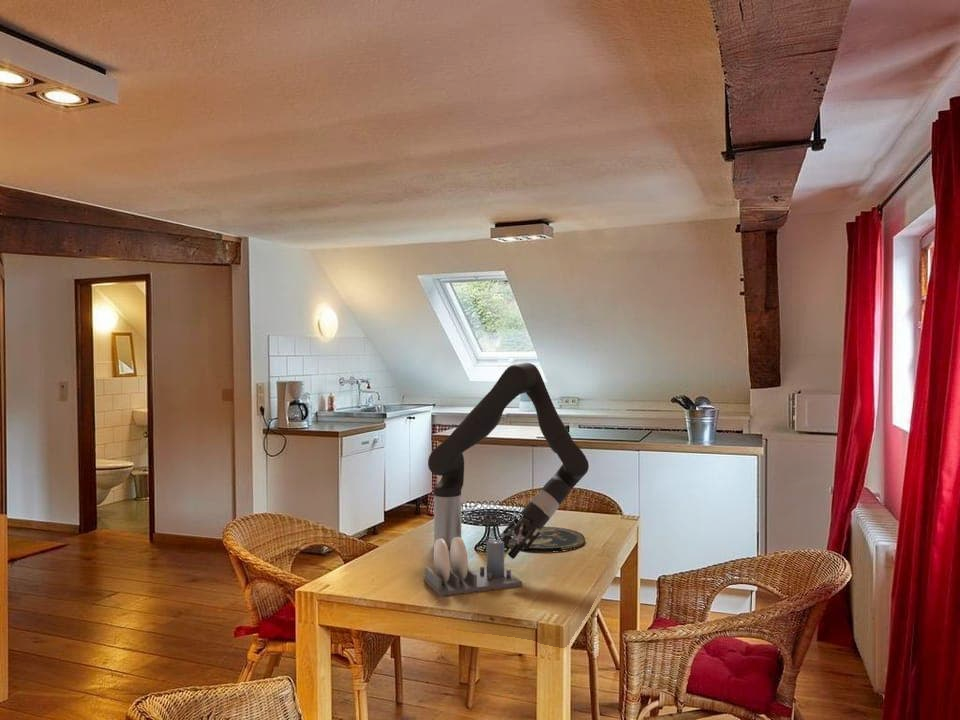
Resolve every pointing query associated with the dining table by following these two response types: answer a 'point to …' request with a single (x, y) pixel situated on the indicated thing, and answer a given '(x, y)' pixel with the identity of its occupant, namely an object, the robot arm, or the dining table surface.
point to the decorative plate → (553, 540)
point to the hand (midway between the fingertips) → (504, 552)
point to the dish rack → (461, 572)
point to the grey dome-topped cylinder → (495, 558)
